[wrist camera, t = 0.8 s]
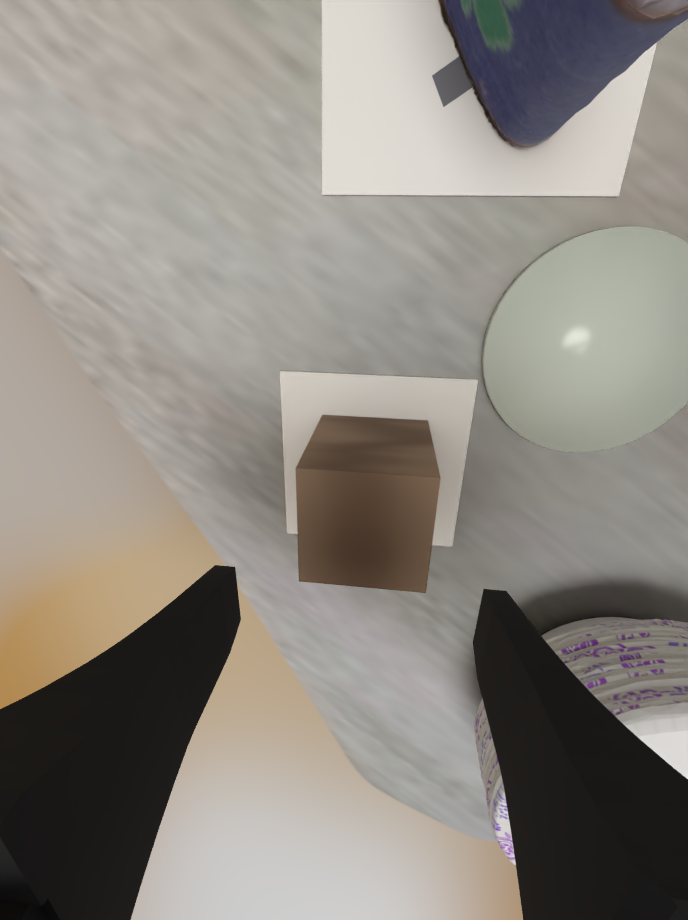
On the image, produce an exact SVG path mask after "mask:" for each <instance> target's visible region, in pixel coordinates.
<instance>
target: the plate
mask: <svg viewBox="0 0 688 920" xmlns="http://www.w3.org/2000/svg"><path fill="white" fill-rule="evenodd" d="M482 373H483V378H484V384H485V387H486V390H487V393H488V396H489V398H490V400H491V402H492V404H493V406H494V407H495V409H496V410H497V412H498V413H499V414H500V416H501V417H502V418H503V420H504V421H505V422H506V423H507V424H508V425H509V426H510V427H511V428H512V429H513V430H514V431H515V432H517V433H518V434H519V435H520V436H522V437H523V438H525V439H527V440H529V441H530V442H532V443H534V444H537V445H539V446H542V447H545V448H548V449H552V450H556V451H563V452H571V453H586V452H595V451H602V450H606V449H611V448H615V447H618V446H621V445H624V444H627V443H629V442H631V441H634V440H636V439H638V438H640V437H643V436H644V435H646V434H648V433H650V432H651V431H653V430H655V429H656V428H658V427H659V426H661V425H662V424H663V423H665V422H666V421H668V420H669V419H670V418H671V417H672V416H674V415H675V414H676V413H677V412H678V411H679V410H680V409H681V408H682V407H683V406H684V405H685V404H686V403H687V402H688V243H687V242H685V241H684V240H682V239H680V238H679V237H677V236H674V235H672V234H669V233H667V232H665V231H661V230H656V229H652V228H647V227H635V226H627V227H613V228H608V229H603V230H598V231H592V232H589V233H585V234H582V235H579V236H576V237H573V238H571V239H569V240H567V241H565V242H563V243H561V244H558V245H557V246H555V247H553V248H552V249H550V250H549V251H547V252H545V253H544V254H542V255H541V256H540V257H538V258H537V259H536V260H535V261H533V262H532V263H531V264H529V265H528V266H527V267H526V268H525V269H524V270H523V271H522V272H521V273H520V274H519V275H518V276H517V277H516V279H515V280H514V281H513V282H512V283H511V285H510V286H509V287H508V288H507V290H506V291H505V293H504V294H503V296H502V297H501V299H500V300H499V302H498V304H497V306H496V308H495V310H494V312H493V314H492V316H491V318H490V321H489V324H488V327H487V330H486V333H485V338H484V342H483V350H482Z"/></svg>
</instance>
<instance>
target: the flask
mask: <svg viewBox="0 0 688 920" xmlns="http://www.w3.org/2000/svg"><path fill="white" fill-rule="evenodd" d="M438 1H439V4H440V7H441V14H442V17H443V18H444V22H445V24H446V25H447V26H448V28H449V31H450V32H451V35H452V37H453V38H454V43H455V48H456V49H457V51H458V53H459V56H460V58H461V59H462V63H463V65H464V68H465V70H466V74H467V76H468V78H469V79H470V80H471V82H472V85H473V89H474V90H475V92H474V94H475V95H477V100H478V101H479V103H480V104H481V106H483V110H484V113H485V115H486V117H487V118H488V122H490V123H491V124H492V127H493V128H494V129H496V131H497V133H498V134H499V136H500V137H502V139H503V140H504V141H505V142H506V141H508V142H509V143H510V144H511V146H519V147H531V146H535V145H538V144H540V143H542V142H544V141H546V140H548V139H549V138H550V137H552V136H553V135H554V134H555V133H556V132H557V131H558V130H559V129H560V128H561V127H562V126H563V125H564V124H565V123H566V122H567V121H568V120H569V119H570V118H571V117H573V116H574V115H575V114H576V113H577V112H579V111H580V110H582V109H583V108H584V107H586V106H587V105H589V104H590V103H591V102H592V101H593V99H594V98H595V97H596V96H597V95H598V94H599V93H600V92H601V91H602V90H603V89H604V88H605V87H606V86H607V85H608V84H609V83H610V82H611V81H612V80H613V79H615V78H616V77H618V76H619V75H620V74H622V73H623V72H625V71H626V70H627V69H628V68H629V67H630V66H631V65H632V64H633V63H634V62H635V61H636V60H637V59H638V58H639V57H640V56H641V55H642V54H643V53H644V52H645V51H647V50H648V49H649V48H651V47H652V46H653V45H654V44H655V43H656V42H658V41H659V40H660V39H661V38H662V37H664V36H665V35H666V34H667V33H668V32H669V31H671V30H672V29H673V28H674V27H676V26H677V25H679V24H680V23H682V22H684V21H685V20H687V19H688V0H438Z"/></svg>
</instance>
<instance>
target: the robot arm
mask: <svg viewBox="0 0 688 920" xmlns="http://www.w3.org/2000/svg"><path fill="white" fill-rule="evenodd" d="M240 620H241V617H240V608H239V600H238V590H237V580H236V571H235V567H229V566H218V565H215V566H214V567H213V568H211V569H210V570H209V571H208V572H207V573H205V574H204V575H203V576H202V577H201V578H200V579H198V580H197V581H196V582H195V583H194V584H192V585H191V586H190V587H189V588H188V589H186V590H185V591H184V592H183V593H182V594H181V595H179V596H178V597H177V598H176V599H175V600H173V601H172V602H171V603H170V604H168V605H167V606H166V607H165V608H163V609H162V610H161V611H160V612H159V613H158V614H156V615H155V616H154V617H152V618H151V619H149V620H148V621H147V622H146V623H144V624H143V625H141V626H140V627H139V628H137V629H136V630H135V631H134V632H132V633H131V634H130V635H128V636H127V637H125V638H124V639H122V640H121V641H120V642H118V643H117V644H115V645H114V646H112V647H111V648H109V649H108V650H106V651H105V652H103V653H101V654H100V655H99V656H97V657H96V658H94V659H92V660H91V661H89V662H88V663H86V664H84V665H82V666H81V667H79V668H77V669H75V670H74V671H72V672H70V673H68V674H67V675H65V676H63V677H61V678H60V679H58V680H56V681H54V682H52V683H51V684H49V685H48V686H45V687H44V688H42V689H40V690H38V691H36V692H34V693H32V694H30V695H28V696H26V697H24V698H22V699H20V700H19V701H16V702H14V703H12V704H10V705H8V706H6V707H4V708H2V709H0V920H130V919H131V916H132V913H133V909H134V906H135V903H136V899H137V896H138V893H139V889H140V886H141V883H142V879H143V876H144V873H145V870H146V867H147V863H148V861H149V857H150V854H151V851H152V848H153V845H154V842H155V839H156V835H157V832H158V829H159V826H160V823H161V820H162V817H163V814H164V811H165V809H166V806H167V803H168V800H169V797H170V794H171V791H172V788H173V785H174V782H175V780H176V777H177V774H178V771H179V768H180V766H181V763H182V760H183V757H184V755H185V752H186V749H187V746H188V744H189V742H190V739H191V737H192V734H193V732H194V729H195V727H196V725H197V723H198V721H199V718H200V716H201V714H202V712H203V710H204V708H205V706H206V704H207V702H208V699H209V697H210V695H211V693H212V691H213V689H214V687H215V684H216V682H217V680H218V678H219V676H220V674H221V671H222V669H223V667H224V665H225V663H226V660H227V658H228V656H229V654H230V651H231V647H232V645H233V642H234V639H235V636H236V633H237V629H238V626H239V623H240ZM473 647H474V655H475V663H476V670H477V677H478V682H479V687H480V691H481V695H482V699H483V703H484V707H485V711H486V715H487V719H488V723H489V727H490V731H491V735H492V739H493V743H494V747H495V751H496V755H497V759H498V763H499V767H500V771H501V776H502V781H503V786H504V791H505V797H506V804H507V810H508V816H509V822H510V828H511V835H512V842H513V848H514V855H515V862H516V868H517V876H518V882H519V889H520V897H521V905H522V911H523V920H688V779H687V778H685V777H684V776H683V775H682V774H681V773H679V772H678V771H677V770H676V769H674V768H673V767H672V766H671V765H669V764H668V763H667V762H666V761H665V760H664V759H662V758H661V757H660V756H659V755H658V754H657V753H655V752H654V751H653V750H652V749H651V748H650V747H648V746H647V745H646V744H645V743H644V742H643V741H641V740H640V739H639V738H638V737H637V736H636V735H635V734H634V733H633V732H631V731H630V730H629V729H628V728H627V727H626V726H625V725H624V724H623V723H622V722H621V721H620V720H619V719H617V718H616V717H615V716H614V715H613V714H612V713H611V712H610V711H609V710H608V709H607V708H606V707H605V706H604V705H603V704H602V703H601V702H600V701H599V700H598V699H597V698H596V697H595V696H594V695H593V694H592V693H591V692H590V691H589V690H588V689H587V688H586V687H585V686H584V685H583V684H582V682H581V681H580V680H579V679H578V678H577V677H576V676H575V675H574V674H573V673H572V672H571V670H570V669H569V668H568V667H567V666H566V665H565V664H564V662H563V661H562V660H561V659H560V658H559V657H558V655H557V654H556V653H555V652H554V651H553V649H552V648H551V647H550V646H549V645H548V644H547V642H546V641H545V640H544V639H543V637H542V636H541V635H540V634H539V633H538V631H537V630H536V629H535V627H534V626H533V625H532V624H531V622H530V621H529V620H528V619H527V617H526V616H525V615H524V613H523V612H522V611H521V609H520V608H519V607H518V605H517V604H516V603H515V602H514V600H513V599H512V598H511V596H510V595H509V594H508V593H507V592H506V591H499V590H488V589H484V590H483V595H482V600H481V605H480V610H479V615H478V620H477V625H476V630H475V635H474V640H473Z"/></svg>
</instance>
